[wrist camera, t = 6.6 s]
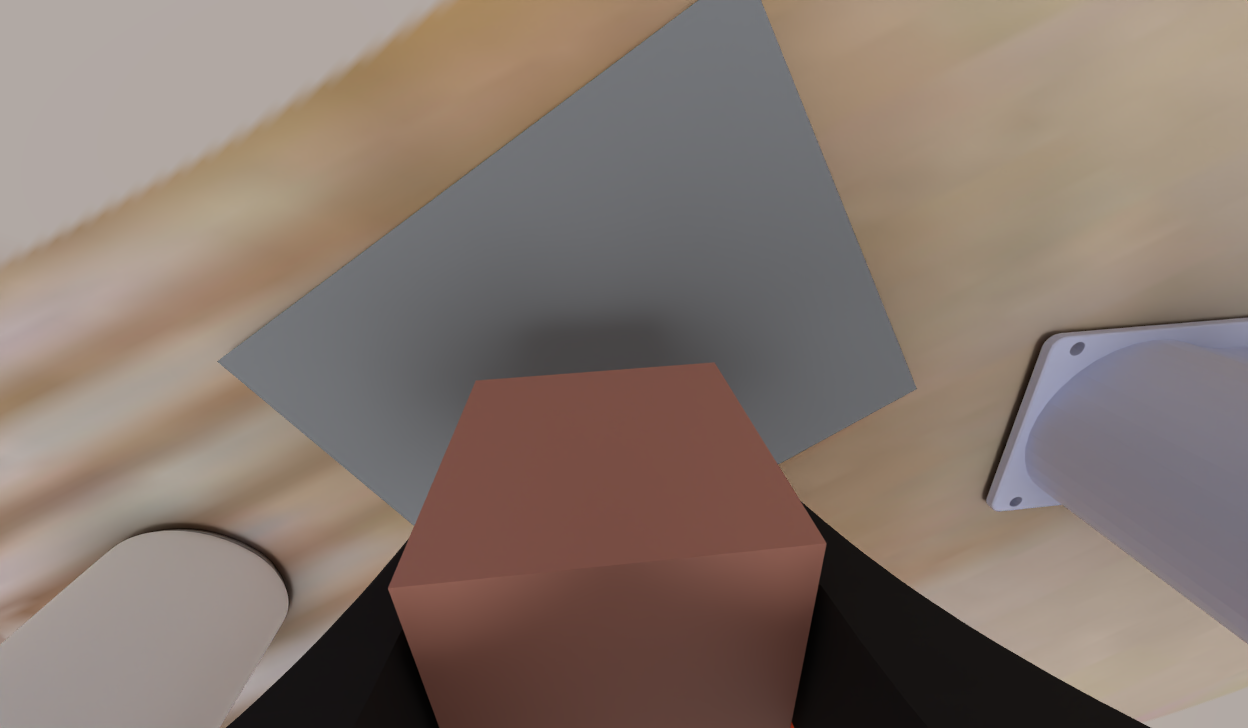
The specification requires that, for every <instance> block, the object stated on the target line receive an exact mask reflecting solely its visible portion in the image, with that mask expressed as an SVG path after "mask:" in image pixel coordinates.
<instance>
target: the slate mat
mask: <svg viewBox="0 0 1248 728" xmlns="http://www.w3.org/2000/svg"><path fill="white" fill-rule="evenodd" d="M217 362H218V363H220V364H221V365H222V366H223V367H224V368H226V369H227V370H228V371H229V372H230V373H232V374H233V375H234V376H235V377H236V378H238V379H239V380H240V381H241V382H242V383H244V384H245V385H246V386H247V387H248V388H250V389H251V390H252V391H253V392H254V393H256V394H257V395H258V396H259V397H260V398H262V399H263V400H264V401H265V402H266V403H268V404H269V405H270V406H271V407H272V408H274V409H275V410H276V411H277V412H278V413H280V414H281V415H282V416H283V417H284V418H286V419H287V420H288V421H289V422H290V423H292V424H293V425H294V426H295V427H296V428H298V429H299V430H300V431H301V432H302V433H304V434H305V435H306V436H307V437H308V438H310V439H311V440H312V441H313V442H314V443H316V444H317V445H318V446H319V447H320V448H322V449H323V450H324V451H325V452H326V453H328V454H329V455H330V456H331V457H332V458H334V459H335V460H336V461H337V462H338V463H339V464H341V465H342V466H343V467H344V468H345V469H347V470H348V471H349V472H350V473H351V474H353V475H354V476H355V477H356V478H357V479H359V480H360V481H361V482H362V483H363V484H365V485H366V486H367V487H368V488H369V489H371V490H372V491H373V492H374V493H375V494H377V495H378V496H379V497H380V498H381V499H383V500H384V501H385V502H386V503H387V504H389V505H390V506H391V507H392V508H393V509H395V510H396V511H397V512H398V513H399V514H401V515H402V516H403V517H404V518H405V519H407V520H408V521H409V522H410V523H411V524H413V525H414V526H415V523H416V521H417V518H418V516H419V514H420V511H421V509H422V507H423V504H424V502H425V500H426V497H427V495H428V492H429V490H430V488H431V485H432V483H433V481H434V478H435V476H436V474H437V471H438V469H439V466H440V464H441V462H442V459H443V457H444V455H445V452H446V450H447V448H448V445H449V443H450V440H451V438H452V436H453V433H454V431H455V429H456V426H457V424H458V422H459V419H460V417H461V414H462V412H463V410H464V407H465V405H466V403H467V400H468V398H469V396H470V393H471V391H472V388H473V386H474V384H475V381H477V380H490V379H503V378H516V377H529V376H542V375H555V374H569V373H582V372H595V371H608V370H621V369H634V368H647V367H660V366H673V365H686V364H699V363H713V362H715V364H716V366H717V367H718V369H719V370H720V372H721V374H722V375H723V377H724V379H725V380H726V382H727V383H728V385H729V387H730V388H731V390H732V391H733V393H734V395H735V396H736V398H737V399H738V401H739V403H740V404H741V406H742V408H743V409H744V411H745V412H746V414H747V416H748V417H749V419H750V420H751V422H752V424H753V425H754V427H755V429H756V430H757V432H758V433H759V435H760V437H761V438H762V440H763V441H764V443H765V445H766V446H767V448H768V450H769V451H770V453H771V454H772V456H773V458H774V459H775V461H776V462H777V464H780V463H782V462H784V461H785V460H787V459H789V458H791V457H793V456H795V455H796V454H798V453H800V452H802V451H804V450H806V449H807V448H809V447H811V446H813V445H815V444H817V443H818V442H820V441H822V440H824V439H826V438H828V437H829V436H831V435H833V434H835V433H837V432H839V431H840V430H842V429H844V428H846V427H848V426H850V425H851V424H853V423H855V422H857V421H859V420H861V419H862V418H864V417H866V416H868V415H870V414H872V413H873V412H875V411H877V410H879V409H881V408H882V407H884V406H886V405H888V404H890V403H892V402H893V401H895V400H897V399H899V398H901V397H903V396H904V395H906V394H908V393H910V392H912V391H914V390H915V389H917V388H916V386H915V383H914V381H913V378H912V376H911V373H910V371H909V368H908V366H907V363H906V361H905V358H904V356H903V353H902V351H901V348H900V346H899V343H898V341H897V338H896V336H895V333H894V331H893V328H892V326H891V323H890V321H889V318H888V316H887V314H886V311H885V309H884V306H883V304H882V301H881V299H880V296H879V294H878V291H877V289H876V286H875V284H874V281H873V279H872V276H871V274H870V271H869V269H868V266H867V264H866V261H865V259H864V256H863V254H862V251H861V249H860V246H859V244H858V241H857V239H856V236H855V234H854V231H853V229H852V226H851V224H850V221H849V219H848V216H847V214H846V211H845V209H844V206H843V204H842V201H841V199H840V196H839V194H838V191H837V189H836V186H835V184H834V181H833V179H832V176H831V174H830V171H829V169H828V166H827V164H826V161H825V159H824V156H823V154H822V151H821V149H820V146H819V144H818V141H817V139H816V137H815V134H814V132H813V129H812V127H811V124H810V122H809V119H808V117H807V114H806V112H805V109H804V107H803V104H802V102H801V99H800V97H799V94H798V92H797V89H796V87H795V84H794V82H793V79H792V77H791V74H790V72H789V69H788V67H787V64H786V62H785V59H784V57H783V54H782V52H781V49H780V47H779V44H778V42H777V39H776V37H775V34H774V32H773V29H772V27H771V24H770V22H769V19H768V17H767V14H766V12H765V9H764V7H763V4H762V2H761V0H698V1H697V2H695V3H694V4H693V5H691V6H690V7H689V8H687V9H686V10H685V11H683V12H682V13H681V14H679V15H678V16H677V17H676V18H674V19H673V20H672V21H670V22H669V23H668V24H666V25H665V26H664V27H662V28H661V29H660V30H658V31H657V32H656V33H654V34H653V35H652V36H650V37H649V38H648V39H646V40H645V41H644V42H642V43H641V44H640V45H638V46H637V47H636V48H634V49H633V50H632V51H630V52H629V53H628V54H626V55H625V56H624V57H622V58H621V59H620V60H618V61H617V62H616V63H614V64H613V65H612V66H610V67H609V68H608V69H606V70H605V71H604V72H602V73H601V74H600V75H598V76H597V77H596V78H594V79H593V80H592V81H590V82H589V83H588V84H586V85H585V86H584V87H582V88H581V89H580V90H578V91H577V92H576V93H574V94H573V95H572V96H570V97H569V98H568V99H566V100H565V101H564V102H562V103H561V104H560V105H558V106H557V107H556V108H554V109H553V110H552V111H550V112H549V113H548V114H546V115H545V116H544V117H542V118H541V119H540V120H538V121H537V122H536V123H534V124H533V125H532V126H530V127H529V128H528V129H526V130H525V131H524V132H522V133H521V134H520V135H518V136H517V137H516V138H514V139H513V140H512V141H510V142H509V143H508V144H506V145H505V146H504V147H502V148H501V149H500V150H498V151H497V152H496V153H494V154H493V155H492V156H490V157H489V158H488V159H486V160H485V161H484V162H482V163H481V164H480V165H478V166H477V167H476V168H474V169H473V170H472V171H470V172H469V173H468V174H466V175H465V176H464V177H462V178H461V179H460V180H458V181H457V182H456V183H454V184H453V185H452V186H450V187H449V188H448V189H446V190H445V191H444V192H442V193H441V194H440V195H438V196H437V197H436V198H434V199H433V200H432V201H430V202H429V203H428V204H426V205H425V206H424V207H422V208H421V209H420V210H418V211H417V212H416V213H414V214H413V215H412V216H410V217H409V218H408V219H406V220H405V221H404V222H402V223H401V224H400V225H398V226H397V227H396V228H394V229H393V230H392V231H390V232H389V233H388V234H386V235H385V236H384V237H382V238H381V239H380V240H378V241H377V242H376V243H374V244H373V245H372V246H370V247H369V248H368V249H366V250H365V251H364V252H362V253H361V254H360V255H358V256H357V257H356V258H354V259H353V260H352V261H350V262H349V263H348V264H346V265H345V266H344V267H342V268H341V269H340V270H338V271H337V272H336V273H334V274H333V275H332V276H330V277H329V278H328V279H326V280H325V281H324V282H322V283H321V284H320V285H318V286H317V287H316V288H314V289H313V290H312V291H310V292H309V293H308V294H306V295H305V296H304V297H302V298H301V299H300V300H298V301H297V302H296V303H294V304H293V305H292V306H290V307H289V308H288V309H286V310H285V311H284V312H282V313H281V314H280V315H278V316H277V317H276V318H274V319H273V320H272V321H270V322H269V323H268V324H266V325H265V326H264V327H262V328H261V329H260V330H258V331H257V332H256V333H254V334H253V335H252V336H250V337H249V338H248V339H246V340H245V341H244V342H242V343H241V344H240V345H238V346H237V347H236V348H234V349H233V350H232V351H230V352H229V353H228V354H226V355H225V356H224V357H222V358H221V359H220V360H219V361H217Z"/></svg>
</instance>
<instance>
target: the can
mask: <svg viewBox="0 0 1248 728" xmlns="http://www.w3.org/2000/svg"><path fill="white" fill-rule="evenodd" d="M288 605H289V601H288V594H287V591H286V588H285V584H284V581H283V579H282V577H281V575H280V573H279V571H278V570H277V569H276V567H275V566H274V565H273V563H272V562H271V561H270V560H269V559H268V558H267V557H265V556H264V555H263V554H261V553H260V552H258V551H257V550H255V549H254V548H252V547H250V546H248V545H246V544H244V543H242V542H240V541H237V540H235V539H232V538H230V537H227V536H224V535H221V534H218V533H214V532H209V531H204V530H196V529H168V530H162V531H157V532H150V533H145V534H141V535H137V536H134V537H131V538H129V539H127V540H124V541H123V542H121V543H119V544H118V545H116V546H115V547H113V548H112V549H111V550H109V551H108V552H107V553H106V554H105V555H103V556H102V557H101V558H100V559H99V560H97V561H96V562H95V563H94V564H93V565H92V566H90V567H89V568H88V569H87V570H86V571H85V572H83V573H82V574H81V575H80V576H79V577H78V578H76V579H75V580H74V581H73V582H72V583H71V584H69V585H68V586H67V587H66V588H65V589H64V590H63V591H61V592H60V593H59V594H58V595H57V596H56V597H54V598H53V599H52V600H51V601H50V602H49V603H48V604H46V605H45V606H44V607H43V608H42V609H41V610H40V611H38V612H37V613H36V614H35V615H34V616H33V617H31V618H30V619H29V620H28V621H27V622H26V623H25V624H23V625H22V626H21V627H20V628H19V629H18V630H16V631H15V632H14V633H13V634H12V635H11V636H10V637H8V638H7V639H6V640H5V641H4V642H3V643H2V644H1V645H0V728H219V727H220V726H221V724H222V723H223V721H224V719H225V718H226V716H227V714H228V713H229V711H230V709H231V708H232V706H233V705H234V703H235V701H236V700H237V698H238V696H239V695H240V693H241V691H242V690H243V688H244V686H245V685H246V683H247V681H248V680H249V678H250V676H251V675H252V673H253V672H254V670H255V668H256V667H257V665H258V663H259V662H260V660H261V658H262V657H263V655H264V653H265V652H266V650H267V648H268V647H269V645H270V643H271V642H272V640H273V638H274V637H275V635H276V633H277V632H278V630H279V628H280V626H281V625H282V623H283V621H284V619H285V617H286V614H287V611H288Z"/></svg>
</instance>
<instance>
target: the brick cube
mask: <svg viewBox="0 0 1248 728" xmlns="http://www.w3.org/2000/svg"><path fill="white" fill-rule="evenodd" d="M826 544H827V543H826V542H825V540H824V538H823V537H822V535H821V533H820V532H819V530H818V529H817V527H816V525H815V524H814V522H813V521H812V519H811V517H810V516H809V514H808V513H807V511H806V509H805V508H804V506H803V504H802V503H801V501H800V500H799V498H798V496H797V495H796V493H795V492H794V490H793V488H792V487H791V485H790V483H789V482H788V480H787V479H786V477H785V475H784V474H783V472H782V471H781V469H780V467H779V466H778V464H777V462H776V461H775V459H774V458H773V456H772V454H771V453H770V451H769V450H768V448H767V446H766V445H765V443H764V441H763V440H762V438H761V437H760V435H759V433H758V432H757V430H756V429H755V427H754V425H753V424H752V422H751V420H750V419H749V417H748V416H747V414H746V412H745V411H744V409H743V408H742V406H741V404H740V403H739V401H738V399H737V398H736V396H735V395H734V393H733V391H732V390H731V388H730V387H729V385H728V383H727V382H726V380H725V379H724V377H723V375H722V374H721V372H720V370H719V369H718V367H717V366H716V364H715V362H713V363H699V364H686V365H673V366H660V367H647V368H634V369H621V370H608V371H595V372H582V373H569V374H555V375H542V376H529V377H516V378H503V379H490V380H477V381H475V384H474V386H473V388H472V391H471V393H470V396H469V398H468V400H467V403H466V405H465V407H464V410H463V412H462V414H461V417H460V419H459V422H458V424H457V426H456V429H455V431H454V433H453V436H452V438H451V440H450V443H449V445H448V448H447V450H446V452H445V455H444V457H443V459H442V462H441V464H440V466H439V469H438V471H437V474H436V476H435V478H434V481H433V483H432V485H431V488H430V490H429V492H428V495H427V497H426V500H425V502H424V504H423V507H422V509H421V511H420V514H419V516H418V518H417V521H416V523H415V526H414V528H413V530H412V533H411V535H410V537H409V540H408V542H407V544H406V547H405V549H404V552H403V554H402V556H401V559H400V561H399V563H398V566H397V568H396V571H395V573H394V575H393V578H392V580H391V582H390V585H389V587H388V590H389V593H390V595H391V598H392V601H393V603H394V606H395V609H396V612H397V614H398V617H399V620H400V622H401V625H402V628H403V630H404V633H405V636H406V639H407V641H408V644H409V647H410V649H411V652H412V655H413V657H414V660H415V663H416V666H417V668H418V671H419V674H420V676H421V679H422V682H423V685H424V687H425V690H426V693H427V695H428V698H429V701H430V703H431V706H432V709H433V712H434V714H435V717H436V720H437V722H438V725H439V728H790V727H791V722H792V717H793V712H794V707H795V701H796V696H797V691H798V686H799V681H800V676H801V671H802V666H803V661H804V656H805V651H806V646H807V640H808V635H809V630H810V625H811V620H812V615H813V610H814V605H815V600H816V595H817V590H818V585H819V579H820V574H821V569H822V564H823V559H824V554H825V549H826Z"/></svg>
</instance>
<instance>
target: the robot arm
mask: <svg viewBox="0 0 1248 728" xmlns="http://www.w3.org/2000/svg"><path fill="white" fill-rule="evenodd" d="M986 502H987V504H988V505H989V506H990V507H991V508H992V509H993V510H995V511H1008V510H1017V509H1027V508H1036V507H1045V506H1055V505H1063V506H1065V507H1066V508H1067V509H1069V510H1070V511H1071V512H1072V513H1074V514H1075V515H1076V516H1078V517H1079V518H1080V519H1082V520H1083V521H1084V522H1086V523H1087V524H1088V525H1090V526H1091V527H1092V528H1094V529H1095V530H1096V531H1098V532H1099V533H1100V534H1102V535H1103V536H1104V537H1106V538H1107V539H1108V540H1110V541H1111V542H1112V543H1114V544H1115V545H1116V546H1118V547H1119V548H1120V549H1122V550H1123V551H1124V552H1126V553H1127V554H1128V555H1130V556H1131V557H1132V558H1134V559H1135V560H1136V561H1138V562H1139V563H1140V564H1142V565H1143V566H1144V567H1146V568H1147V569H1148V570H1150V571H1151V572H1152V573H1154V574H1155V575H1156V576H1158V577H1159V578H1160V579H1162V580H1163V581H1164V582H1166V583H1167V584H1168V585H1170V586H1171V587H1172V588H1174V589H1175V590H1176V591H1178V592H1179V593H1180V594H1182V595H1183V596H1184V597H1186V598H1187V599H1188V600H1190V601H1191V602H1192V603H1194V604H1195V605H1196V606H1198V607H1199V608H1200V609H1202V610H1203V611H1204V612H1206V613H1207V614H1208V615H1210V616H1211V617H1212V618H1214V619H1215V620H1216V621H1218V622H1219V623H1220V624H1222V625H1223V626H1224V627H1226V628H1227V629H1228V630H1230V631H1231V632H1232V633H1234V634H1235V635H1236V636H1238V637H1239V638H1240V639H1242V640H1243V641H1244V642H1246V643H1247V644H1248V318H1236V319H1224V320H1212V321H1200V322H1188V323H1176V324H1164V325H1152V326H1140V327H1128V328H1116V329H1104V330H1092V331H1080V332H1068V333H1059V334H1055V335H1053V336H1051V337H1050V338H1048V339H1047V340H1046V341H1045V342H1044V344H1043V346H1042V348H1041V351H1040V354H1039V357H1038V359H1037V362H1036V365H1035V368H1034V370H1033V373H1032V376H1031V379H1030V381H1029V384H1028V387H1027V389H1026V392H1025V395H1024V398H1023V400H1022V403H1021V406H1020V409H1019V411H1018V414H1017V417H1016V419H1015V422H1014V425H1013V428H1012V430H1011V433H1010V436H1009V439H1008V441H1007V444H1006V447H1005V450H1004V452H1003V455H1002V458H1001V460H1000V463H999V466H998V469H997V471H996V474H995V477H994V480H993V482H992V485H991V488H990V491H989V493H988V496H987V500H986ZM801 503H802V502H801ZM802 504H803V503H802ZM803 506H804V508H805V509H806V511H807V513H808V514H809V516H810V517H811V519H812V521H813V522H814V524H815V525H816V527H817V529H818V530H819V532H820V533H821V535H822V537H823V538H824V540H825V542H826V543H827V544H826V549H825V554H824V559H823V564H822V569H821V574H820V579H819V585H818V590H817V595H816V600H815V605H814V610H813V615H812V620H811V625H810V630H809V635H808V640H807V646H806V651H805V656H804V661H803V666H802V671H801V676H800V681H799V686H798V691H797V696H796V701H795V707H794V712H793V717H792V724H793V726H794V728H1150V727H1148V726H1146V725H1144V724H1143V723H1141V722H1139V721H1137V720H1135V719H1133V718H1131V717H1129V716H1127V715H1125V714H1123V713H1121V712H1119V711H1118V710H1116V709H1114V708H1112V707H1110V706H1108V705H1106V704H1104V703H1102V702H1100V701H1098V700H1096V699H1094V698H1093V697H1091V696H1089V695H1087V694H1085V693H1083V692H1082V691H1080V690H1078V689H1076V688H1074V687H1073V686H1071V685H1069V684H1067V683H1065V682H1063V681H1062V680H1060V679H1058V678H1056V677H1054V676H1052V675H1051V674H1049V673H1047V672H1045V671H1044V670H1042V669H1040V668H1039V667H1037V666H1035V665H1033V664H1032V663H1030V662H1028V661H1027V660H1025V659H1023V658H1021V657H1020V656H1018V655H1016V654H1015V653H1013V652H1011V651H1009V650H1008V649H1006V648H1004V647H1003V646H1001V645H999V644H997V643H996V642H994V641H992V640H991V639H989V638H987V637H986V636H984V635H983V634H981V633H979V632H978V631H976V630H975V629H973V628H971V627H970V626H968V625H966V624H965V623H963V622H962V621H960V620H959V619H957V618H956V617H954V616H953V615H951V614H950V613H948V612H947V611H945V610H944V609H942V608H940V607H939V606H937V605H936V604H934V603H933V602H931V601H930V600H928V599H927V598H925V597H924V596H922V595H921V594H919V593H918V592H916V591H915V590H913V589H912V588H911V587H909V586H908V585H906V584H905V583H903V582H902V581H901V580H899V579H898V578H896V577H895V576H894V575H892V574H891V573H890V572H888V571H887V570H886V569H884V568H883V567H882V566H880V565H879V564H878V563H876V562H875V561H874V560H872V559H871V558H870V557H868V556H867V555H866V554H864V553H863V552H862V551H860V550H859V549H858V548H857V547H855V546H854V545H853V544H851V543H850V542H849V541H848V540H846V539H845V538H844V537H843V536H841V535H840V534H839V533H838V532H837V531H835V530H834V529H833V528H832V527H831V526H829V525H828V524H827V523H826V522H824V521H823V520H822V519H821V518H820V517H819V516H817V515H816V514H815V513H814V512H813V511H811V510H810V509H809V508H808V507H807V506H806V505H805V504H803ZM408 540H409V539H408ZM408 540H407V541H406V543H405V544H404V545H403V546H402V547H401V549H400V550H399V551H398V552H397V553H396V555H395V556H394V557H393V558H392V559H391V560H390V562H389V563H388V564H387V565H386V566H385V567H384V569H383V570H382V571H381V572H380V573H379V574H378V576H377V577H376V578H375V579H374V580H373V581H372V583H371V584H370V585H369V586H368V587H367V588H366V589H365V591H364V592H363V593H362V594H361V595H360V596H359V597H358V598H357V599H356V600H355V602H354V603H353V604H352V605H351V606H350V607H349V608H348V609H347V610H346V611H345V612H344V613H343V614H342V616H341V617H340V618H339V619H338V620H337V621H336V622H335V623H334V624H333V625H332V626H331V627H330V628H329V630H328V631H327V632H326V633H325V634H324V635H323V636H322V637H321V638H320V639H319V640H318V641H317V642H316V643H315V644H314V645H313V646H312V647H311V648H310V649H309V650H308V651H307V652H306V653H305V654H304V655H303V656H302V657H301V658H300V659H299V660H298V661H297V662H296V663H295V664H294V665H293V666H292V667H291V668H290V669H289V670H288V671H287V672H286V673H285V674H284V675H283V676H282V677H281V678H280V679H279V680H278V681H277V682H276V683H274V684H273V685H272V686H271V687H270V688H269V689H268V690H267V691H266V692H265V693H264V694H263V695H262V696H261V697H260V698H259V699H258V700H256V701H255V702H254V703H253V704H252V705H251V706H250V707H249V708H248V709H247V710H246V711H244V712H243V713H242V714H241V715H240V716H239V717H238V718H237V719H235V720H234V721H233V722H232V723H231V724H230V725H229V726H227V727H226V728H439V725H438V722H437V720H436V717H435V714H434V712H433V709H432V706H431V703H430V701H429V698H428V695H427V693H426V690H425V687H424V685H423V682H422V679H421V676H420V674H419V671H418V668H417V666H416V663H415V660H414V657H413V655H412V652H411V649H410V647H409V644H408V641H407V639H406V636H405V633H404V630H403V628H402V625H401V622H400V620H399V617H398V614H397V612H396V609H395V606H394V603H393V601H392V598H391V595H390V593H389V590H388V587H389V585H390V582H391V580H392V578H393V575H394V573H395V571H396V568H397V566H398V563H399V561H400V559H401V556H402V554H403V552H404V549H405V547H406V544H407V542H408Z"/></svg>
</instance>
